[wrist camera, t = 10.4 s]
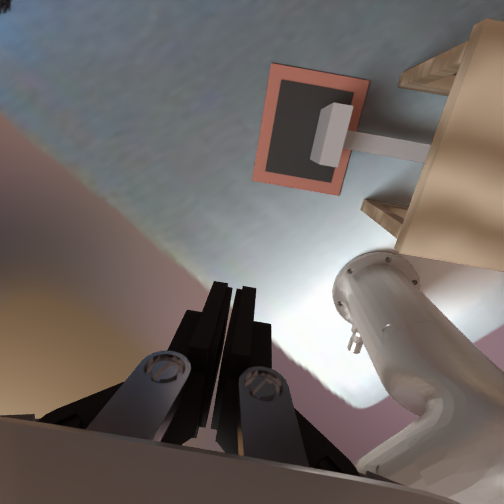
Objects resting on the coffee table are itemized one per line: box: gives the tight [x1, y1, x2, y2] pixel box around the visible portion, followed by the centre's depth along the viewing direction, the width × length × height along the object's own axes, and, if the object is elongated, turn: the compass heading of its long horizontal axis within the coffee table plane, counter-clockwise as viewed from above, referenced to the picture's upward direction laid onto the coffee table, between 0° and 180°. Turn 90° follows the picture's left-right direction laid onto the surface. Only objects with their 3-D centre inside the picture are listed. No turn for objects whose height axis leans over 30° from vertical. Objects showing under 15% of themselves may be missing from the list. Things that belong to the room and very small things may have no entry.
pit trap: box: [252, 63, 370, 196], centre depth 39 cm, size 14×12×1 cm
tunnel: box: [361, 18, 504, 272], centre depth 32 cm, size 19×11×14 cm, turn 171°
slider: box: [310, 103, 431, 168], centre depth 35 cm, size 12×37×8 cm, turn 81°
